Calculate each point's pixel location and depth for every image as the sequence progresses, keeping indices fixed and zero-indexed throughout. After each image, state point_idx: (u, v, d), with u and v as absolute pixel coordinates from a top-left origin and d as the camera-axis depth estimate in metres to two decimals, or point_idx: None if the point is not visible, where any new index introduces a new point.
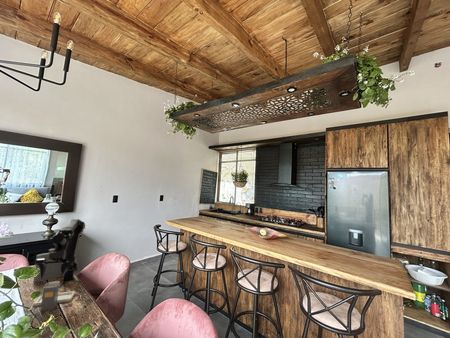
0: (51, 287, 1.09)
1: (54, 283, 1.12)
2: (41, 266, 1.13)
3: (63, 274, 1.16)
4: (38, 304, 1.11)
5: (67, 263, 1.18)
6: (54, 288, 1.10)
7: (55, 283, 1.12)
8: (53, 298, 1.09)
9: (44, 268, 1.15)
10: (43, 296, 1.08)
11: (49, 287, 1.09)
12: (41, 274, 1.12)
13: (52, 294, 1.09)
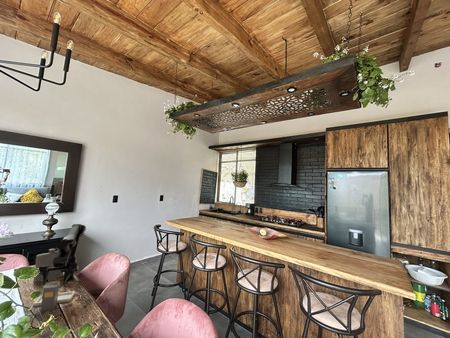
0: (51, 287, 1.09)
1: (54, 283, 1.12)
2: (44, 272, 1.16)
3: (65, 280, 1.18)
4: (38, 304, 1.11)
5: (70, 269, 1.20)
6: (54, 288, 1.10)
7: (55, 283, 1.12)
8: (53, 298, 1.09)
9: (46, 275, 1.17)
10: (43, 296, 1.08)
11: (49, 287, 1.09)
12: (44, 280, 1.14)
13: (52, 294, 1.09)
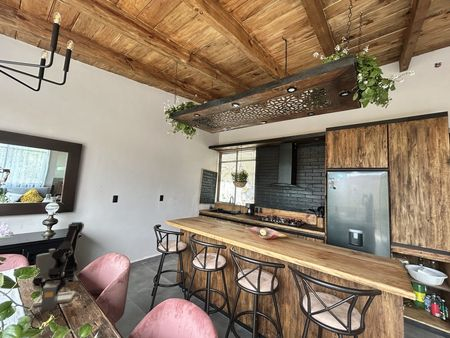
0: (51, 287, 1.09)
1: (54, 283, 1.12)
2: (43, 284, 1.11)
3: (57, 293, 1.12)
4: (38, 304, 1.11)
5: (62, 280, 1.14)
6: (54, 288, 1.10)
7: (55, 283, 1.12)
8: (53, 298, 1.09)
9: None
10: (43, 296, 1.08)
11: (49, 287, 1.09)
12: None
13: (52, 294, 1.09)
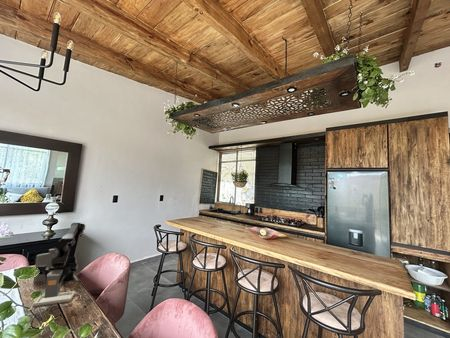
0: (54, 275, 1.13)
1: (57, 272, 1.15)
2: (46, 272, 1.14)
3: (61, 281, 1.15)
4: (38, 304, 1.11)
5: (65, 269, 1.18)
6: (57, 276, 1.13)
7: (58, 272, 1.15)
8: (56, 286, 1.13)
9: None
10: (47, 284, 1.11)
11: (52, 275, 1.12)
12: (46, 280, 1.13)
13: (55, 282, 1.12)
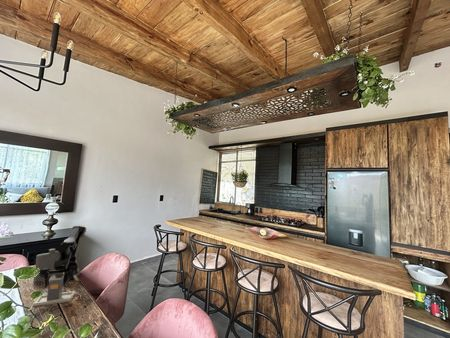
0: (56, 279, 1.16)
1: (59, 276, 1.19)
2: (46, 275, 1.17)
3: (65, 283, 1.19)
4: (38, 304, 1.11)
5: (70, 272, 1.22)
6: (59, 280, 1.17)
7: (60, 276, 1.19)
8: (58, 290, 1.16)
9: (48, 278, 1.19)
10: (49, 288, 1.15)
11: (54, 279, 1.16)
12: (45, 283, 1.16)
13: (57, 286, 1.16)
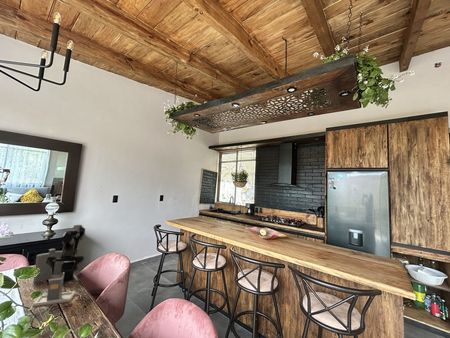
0: (56, 279, 1.16)
1: (59, 276, 1.19)
2: (53, 263, 1.22)
3: (72, 272, 1.27)
4: (38, 304, 1.11)
5: (77, 261, 1.29)
6: (59, 280, 1.17)
7: (60, 276, 1.19)
8: (58, 290, 1.16)
9: (54, 265, 1.23)
10: (49, 288, 1.15)
11: (54, 279, 1.16)
12: (52, 270, 1.21)
13: (57, 286, 1.16)
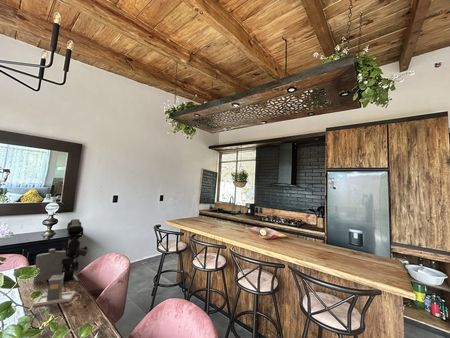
0: (56, 279, 1.16)
1: (59, 276, 1.19)
2: (72, 263, 1.27)
3: None
4: (38, 304, 1.11)
5: (79, 255, 1.38)
6: (59, 280, 1.17)
7: (60, 276, 1.19)
8: (58, 290, 1.16)
9: None
10: (49, 288, 1.15)
11: (54, 279, 1.16)
12: (70, 269, 1.27)
13: (57, 286, 1.16)
